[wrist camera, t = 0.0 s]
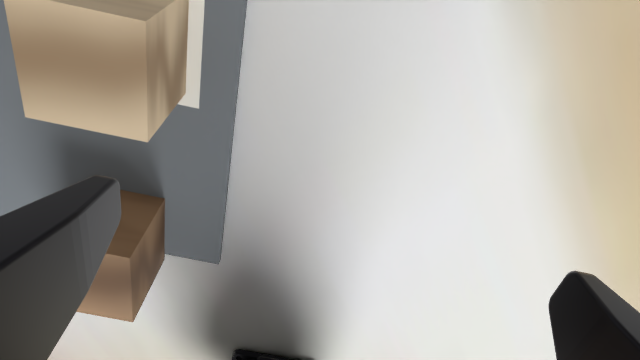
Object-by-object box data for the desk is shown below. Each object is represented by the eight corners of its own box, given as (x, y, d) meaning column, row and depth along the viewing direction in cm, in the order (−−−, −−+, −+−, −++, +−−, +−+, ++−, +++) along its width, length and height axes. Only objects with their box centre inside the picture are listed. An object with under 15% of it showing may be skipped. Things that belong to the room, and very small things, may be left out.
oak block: (185, 93, 23) (147, 142, 19) (85, 72, 23) (25, 117, 19) (189, -10, 20) (145, 21, 16) (75, -36, 20) (2, -11, 16)
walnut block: (164, 259, 30) (132, 322, 26) (86, 244, 30) (42, 305, 26) (165, 198, 27) (129, 258, 23) (79, 181, 27) (28, 238, 23)
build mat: (220, 259, 30) (218, 264, 30) (1, 217, 30) (-3, 221, 29) (250, -36, 20) (248, -34, 20) (-80, -111, 19) (-88, -110, 19)
